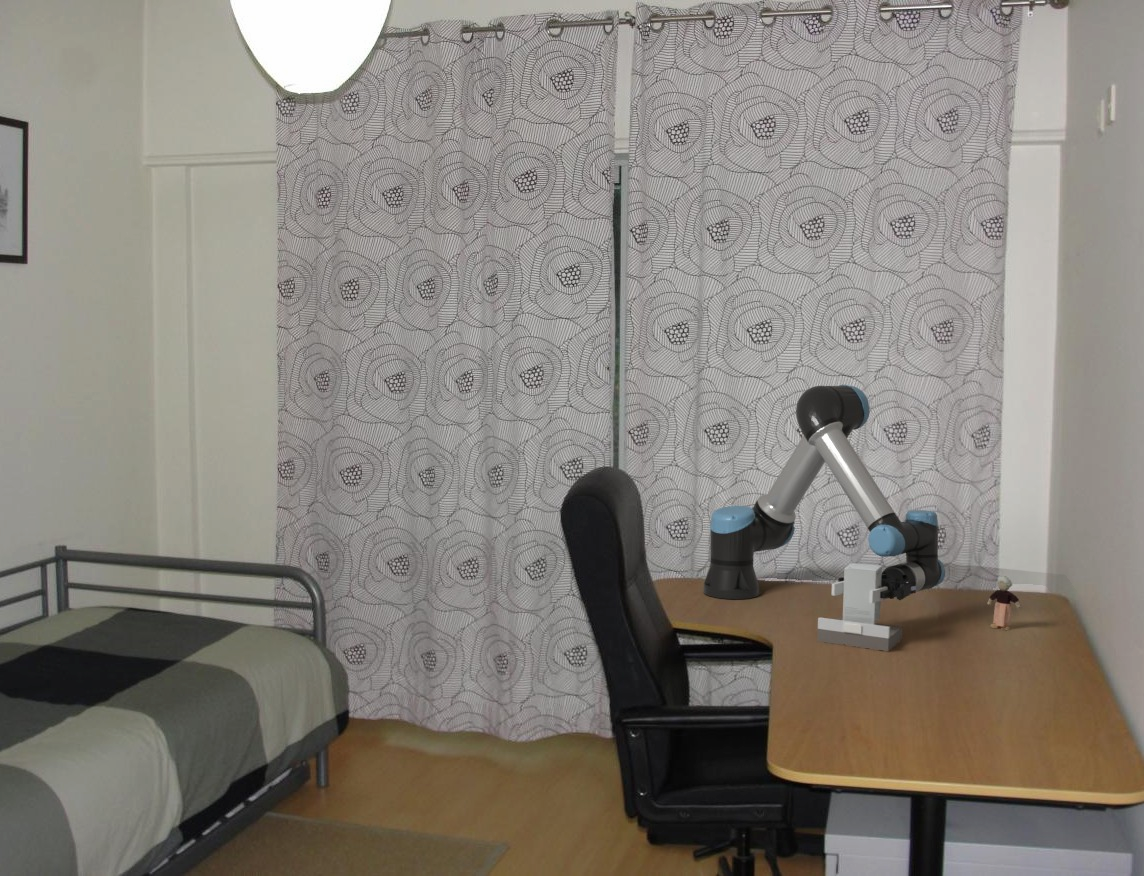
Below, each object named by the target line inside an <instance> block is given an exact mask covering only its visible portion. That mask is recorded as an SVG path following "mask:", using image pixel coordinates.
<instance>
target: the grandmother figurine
mask: <svg viewBox="0 0 1144 876" xmlns="http://www.w3.org/2000/svg"><path fill="white" fill-rule="evenodd" d="M997 586H998V589H997V590H995V591H993V593H991V595H990V596H989V598H988V601H987V605H988V606H991V605H992V604H993V602H994V601H995V600H996V602H995V604H994V609H993V610H994V612H993V623H991V624H990V626H989V627H990V628H991V629H999V627H1000V629H1001V630H1002V631H1003V630H1004V631H1010V630H1011V627H1010V625H1011V618H1012V610H1011V609H1012V604H1011V602H1012V603H1013V604H1014V605H1015V607H1016V609H1021V608H1022V606H1021V605H1020V602H1019V601H1020V599H1019V598H1018V597H1017V596H1016V595H1015V594H1014V593H1013V592H1011V591H1008V590H1009V589H1010V588H1011V587H1013V582H1012V581H1011V579H1010V578H1009V577H1007V576H1004V575H1003V576H1000V575H999V577H998V578H997Z"/></svg>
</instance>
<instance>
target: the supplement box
mask: <svg viewBox="0 0 1144 876" xmlns="http://www.w3.org/2000/svg"><path fill="white" fill-rule="evenodd" d="M882 568H883V565H880V564H879V565H878V564H869V563H868V564H866V563H854V562H853V563H849V564H848V565H847V566H845V567H844V570H843V571H844V573H843V577H844V593H843V597H842V598H843V599H842V619H843V621H850V622H858V623H865V624H873V625H874V624H875V623H876V624H877V622H878V621H879V620H880V619H881V606H882V605H881V602H882V600H881V601H878V602H874V603H869V595H870V590H874V589H877V588H881V576H882V572H883V571H882V570H883V569H882Z"/></svg>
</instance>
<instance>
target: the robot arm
mask: <svg viewBox="0 0 1144 876" xmlns="http://www.w3.org/2000/svg"><path fill="white" fill-rule="evenodd" d="M870 409H871V407H870V405H869V399H868V398H867V395H866V394H865V393H864V392H863V390H861V389H860V388H858V387H856V386H855V385H854V386H853V385H848V384H841V385H816V386H815V385H814V386H812V387H810V388H808V389H806V390H805V391H804V392H803V393H802V394H801V395H800V397H799V399H798V400H797V403H796V408H795V415H796V421H797V424H798V426H799V429H800V432H801V433H802V434H803V436H802V437H801V439H800V440H799V442H798V443H797V445H796V447H795V449H794V450H793V452H792V454H791V455H790V457H789V458H788V459H787V461H786V463H785V464H784V466H783V468H782V470H781V471H780V472H779V475H778V477H777V478H776V479H775V481H774V483H773V485H772V486H771V488H770V490H769V491H768V493H767V494H762V495H760V496H759V497H758V499H757V500H756V501H755V503H754V505H753V506H752V507H751V506H745V505H733V506H724V507H720V508H718V509H715V510H714V511H713V513H712V514H711V522H710V525H709V528H710V550H709V551H710V554H709V555H710V558H709V559H710V562H709V568H708V569H707V573H706V577H705V579H704V581H703V587H702V588H703V594H704V595H706V596H709V597H713V598H718V599H728V600H746V599H753V598H756V597H759V596H760V584H759V582H758V578H757V577H758V576H757V574H756V571H755V567H754V553H757V552H763V551H770V550H776V549H779V548H780V547H784V546H785V545H787V544H788V543H789V542H790V541H791V540H792V538H793V537H794V534H795V529H796V528H795V521H796V519H797V517H796V516H797V515H796V512H795V510H796V509H797V507H798V506H799V504H800V503H801V501H802V500H803V498H804V496H805V495H806V493H807V491H808V490H809V488H810V487H811V486H812V484H813V482H814V480H815V478H817V476H818V474H819V472H820V471H821V469H822V468H823V466H824V464H826V465H827V466H828V469H829V470H830V471H831V473H832V474H833V476H834V478H835V479H836V481H837V483H838V484H839V486H840V487H841V489H842V491H843V492H844V494H845V496H846V497H847V499H849V501H850V503H851V505H852V506H853V508H854V509H855V510H856V513H857V514H858V516H859V517H860V518H861V519H860V520H861V521H863V524H864V525H865V526H866V528H867V530H868V531H869V534H868V537H867V538H868V546H869V548H870V550H871V551H872V552H873V553H874V554H875V555H877V556H879V557H883V558H884V557H885V558H886V557H887V558H888V557H896V556H900V555H903V554H905V562H901V563H898V564H895V565H894V564H893V565H890V566H888V567H885V569H883V571H882V576H881V588H877V589H874V590H870V595H869V603H874V602H878V601H881V602H882V601H884V600H888V599H890V600H893V599H895V598H896V600H899V601H901V600H904V599H905V598H907V597H908V596H910V595H913V594H916V593H917V592H920V591H924V590H931V589H933V588H934V587H937V586H939V585H940V584H942V582H943V581H944V579H945V577H946V568H945V566H944V564H943V562H942V561H941V560H940V559H939V554H938V553H939V524H938V523H939V522H938V521H939V520H938V515H937V513H936V512H935V511H932V510H922V509H921V510H920V509H918V510H917V509H915V510H908V511H907V513H906V514H905V519H904V521H901V520H900V519H901V518H899V516H898V515H897V513H896V512H895V511H894V509H893V507H892V506H891V505H890V503H889V501H888V500H887V498H886V497H885V495H884V493H883V492H882V491H881V488H879V486H878V484H877V483H876V481H875V480H874V478H873V476H872V475H871V473H870V472H869V470H868V469H867V467H866V465H865V464H864V463H863V461H862V459H861V458H860V456H859V455H858V453H857V452H856V450H855V449H854V447H853V446H852V444H851V443H850V441H849V439H848V438H849V436H850V435H851V434H852V432H853V431H854V430H858V429H859V428H861V427H864V425H865V424H866V423H867V422H868V420H869V417H870V411H871V410H870ZM842 594H843V595H844V576H842V577H841V576H840V577H838V582H834V583H831V596H835V597H836V596H839V595H842Z"/></svg>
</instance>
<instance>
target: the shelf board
mask: <svg viewBox="0 0 1144 876" xmlns="http://www.w3.org/2000/svg"><path fill="white" fill-rule="evenodd" d="M902 640H903V627H902V626H898V625H891V624H890V625H889V624H882V623H877V622H876V623H875V624H874V625H873V624H865V623H858V622H850V621H843V618H837V617H833V618H829V617H828V618H826V617H818V618H817V641H820V642H819V643H824V642H828V643H827V644H831V643H836V644H835V645H838V644H845V645H851V646H856V647H855V648H858V647H863V648H862V649H865V648H870V649H869V650H872V649H877V650H876V651H879V650H884V651H883V652H886V651H889V650H890V649H891V650H892V649H893V648H894V647H895V646H897V645H898V644H899V643H900V642H901V641H902ZM899 641H900V642H899ZM898 642H899V643H898ZM897 643H898V644H897ZM896 644H897V645H896ZM851 646H850V647H851ZM891 650H890V651H891ZM890 651H889V652H890Z"/></svg>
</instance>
